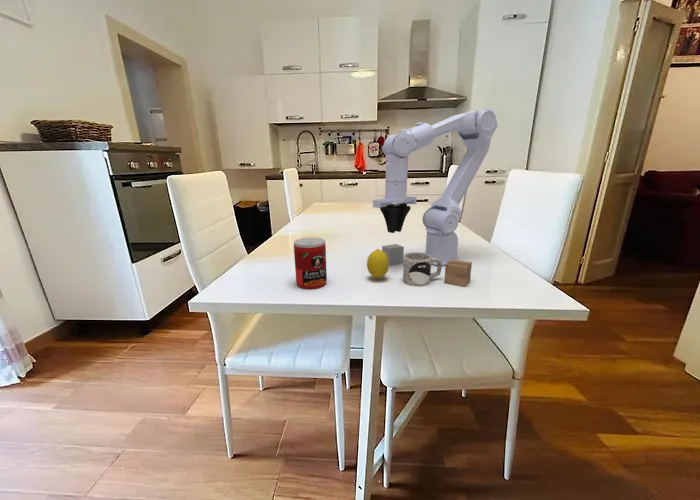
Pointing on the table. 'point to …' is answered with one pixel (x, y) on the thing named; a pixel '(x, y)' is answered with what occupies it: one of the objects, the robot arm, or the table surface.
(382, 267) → the lemon
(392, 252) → the grey block
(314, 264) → the canned food
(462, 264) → the walnut block
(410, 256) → the mug
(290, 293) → the table surface
